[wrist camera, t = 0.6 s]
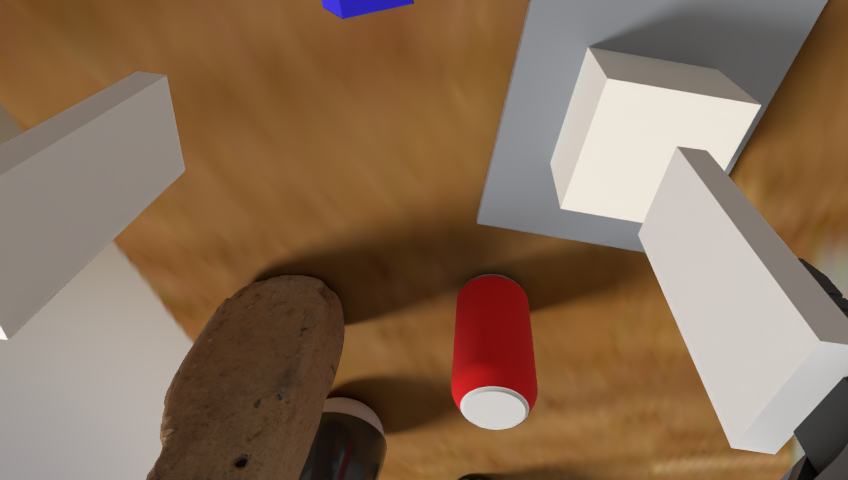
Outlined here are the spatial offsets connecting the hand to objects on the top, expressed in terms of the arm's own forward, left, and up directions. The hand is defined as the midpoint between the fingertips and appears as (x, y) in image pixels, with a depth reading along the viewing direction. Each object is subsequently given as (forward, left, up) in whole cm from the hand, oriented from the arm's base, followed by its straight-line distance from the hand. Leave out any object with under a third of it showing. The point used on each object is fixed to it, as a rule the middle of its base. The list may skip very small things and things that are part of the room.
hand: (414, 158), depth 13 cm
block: (+28, -10, -22) cm, 37 cm away
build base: (+5, +13, -22) cm, 25 cm away
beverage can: (+23, +8, -22) cm, 33 cm away
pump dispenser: (+44, -4, -22) cm, 49 cm away
